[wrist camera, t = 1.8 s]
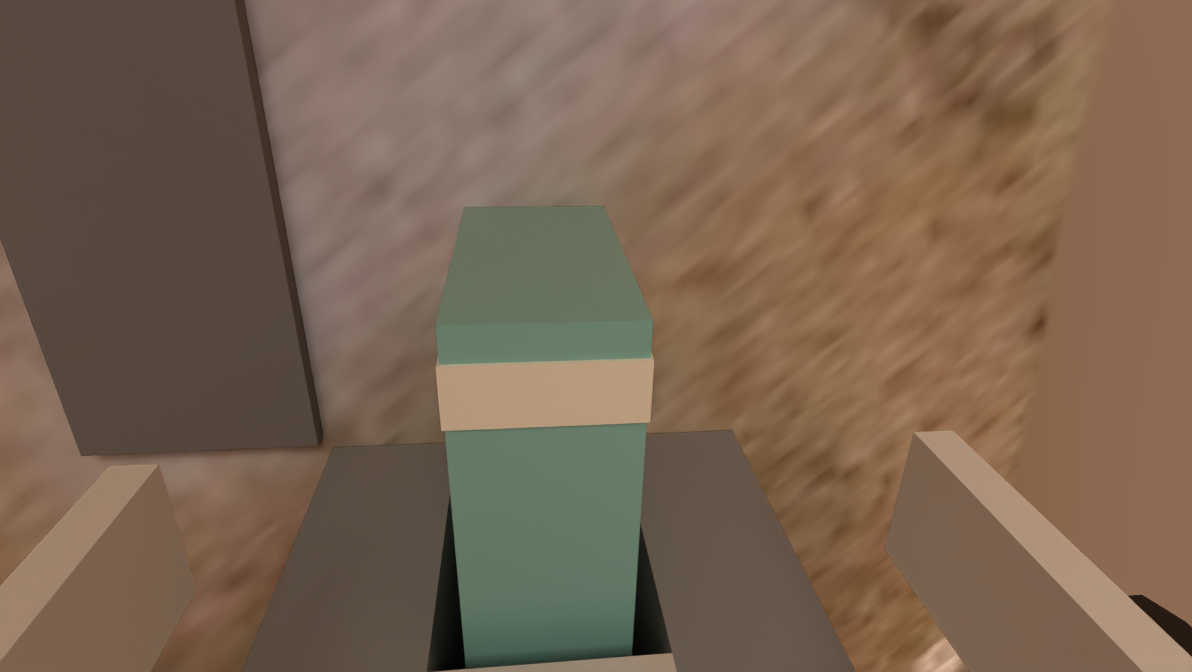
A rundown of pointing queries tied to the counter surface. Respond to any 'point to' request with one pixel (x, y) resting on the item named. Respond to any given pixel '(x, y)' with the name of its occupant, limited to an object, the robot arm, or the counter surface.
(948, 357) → the counter surface
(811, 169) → the counter surface
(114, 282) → the pad
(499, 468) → the banded gift box
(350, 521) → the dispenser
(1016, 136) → the counter surface
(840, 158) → the counter surface
